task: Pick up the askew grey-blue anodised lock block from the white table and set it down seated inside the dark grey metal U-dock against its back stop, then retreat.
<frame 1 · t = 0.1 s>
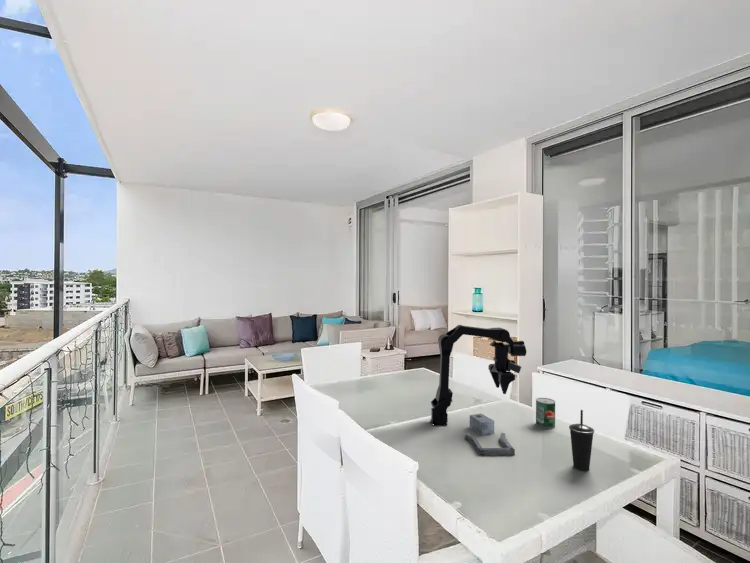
hand: (501, 390, 171), 15 cm above the table, fingers open, 9 cm apart
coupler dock: (491, 447, 147), on the table
canned tomato: (545, 425, 168), on the table
drinking cup: (581, 468, 131), on the table
lock block: (481, 430, 163), on the table
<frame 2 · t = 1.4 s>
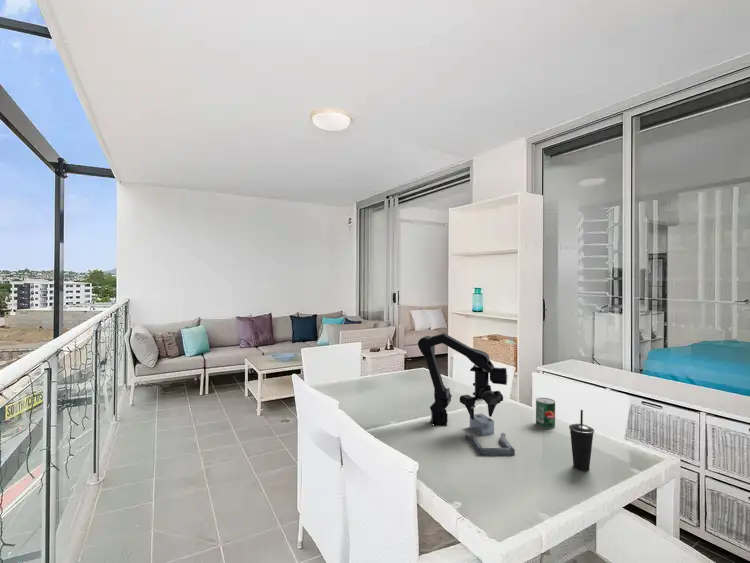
hand: (481, 418, 163), 5 cm above the table, fingers open, 9 cm apart
nothing on the table moved.
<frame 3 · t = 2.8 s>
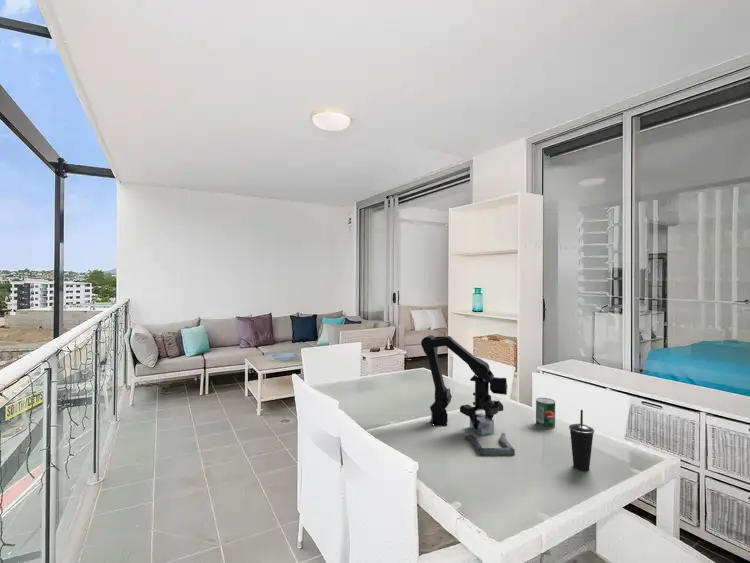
hand: (481, 427, 163), 1 cm above the table, fingers closed on lock block, 6 cm apart
lock block: (481, 430, 163), on the table, touching gripper
everything else where it was.
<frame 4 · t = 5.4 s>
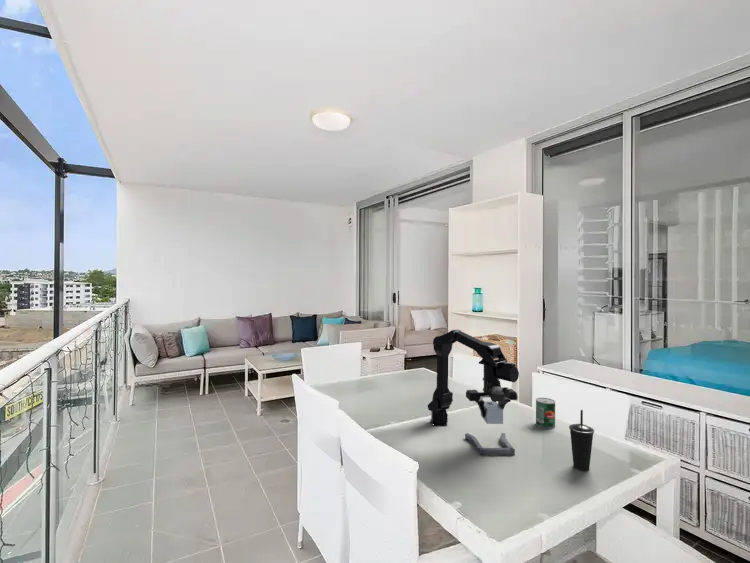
hand: (491, 416, 148), 11 cm above the table, fingers closed on lock block, 6 cm apart
lock block: (491, 419, 148), point 10 cm above the table, touching gripper
everything else where it was.
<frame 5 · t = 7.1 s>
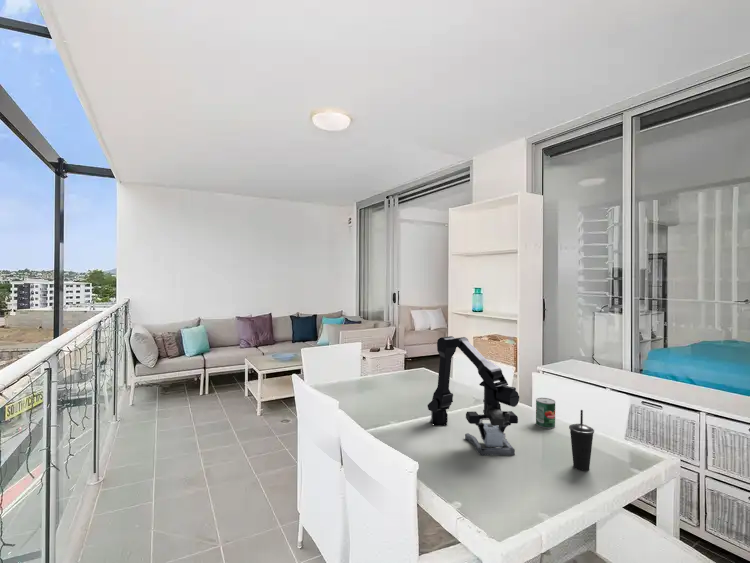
hand: (491, 439, 147), 3 cm above the table, fingers closed on lock block, 6 cm apart
lock block: (491, 441, 147), point 2 cm above the table, touching gripper
everything else where it was.
when the fingers open (3 cm above the table, at t = 8.2 s): lock block drops 2 cm, on the table.
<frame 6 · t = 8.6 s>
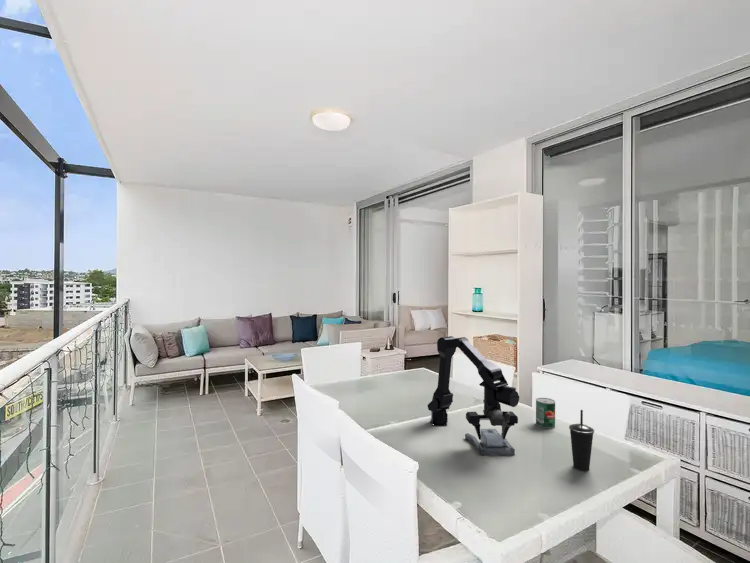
hand: (491, 439, 147), 3 cm above the table, fingers open, 9 cm apart
lock block: (491, 447, 147), on the table
everything else where it was.
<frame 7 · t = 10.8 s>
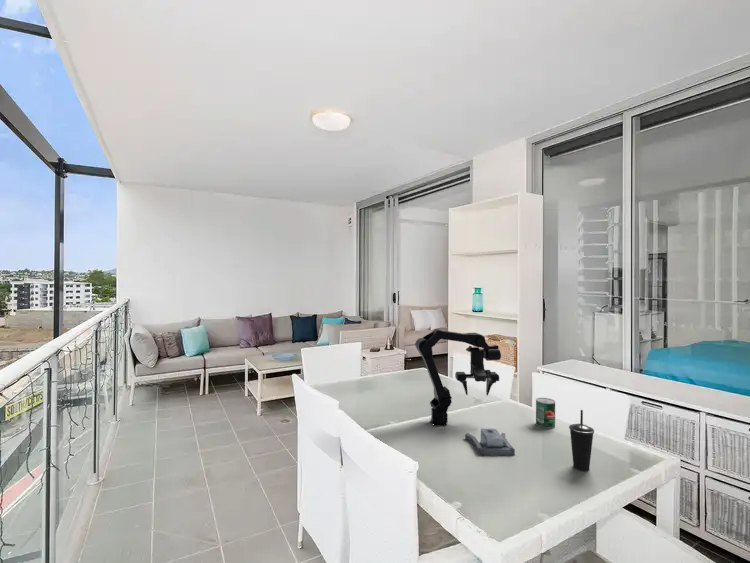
hand: (476, 395, 173), 12 cm above the table, fingers open, 9 cm apart
nothing on the table moved.
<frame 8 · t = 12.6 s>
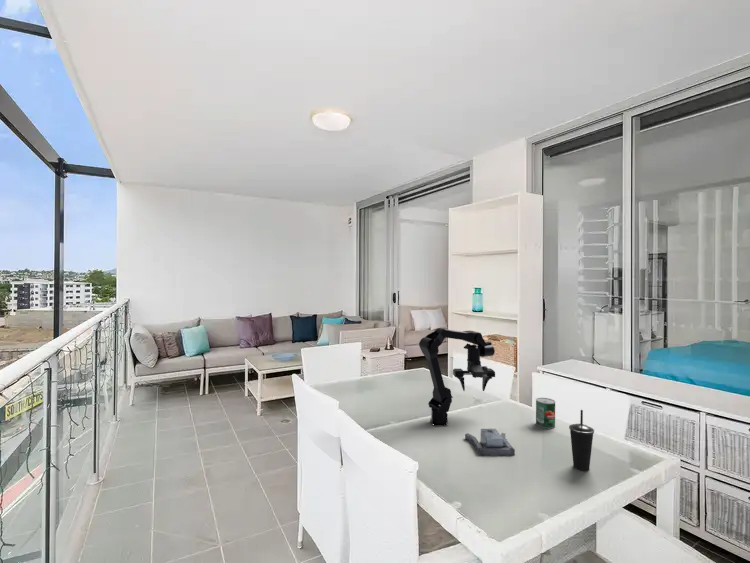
hand: (473, 390, 179), 12 cm above the table, fingers open, 9 cm apart
nothing on the table moved.
at the end: lock block inside the target area (0.4 cm from its centre), on the table; lock block tilted 0°; the gripper is holding nothing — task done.
